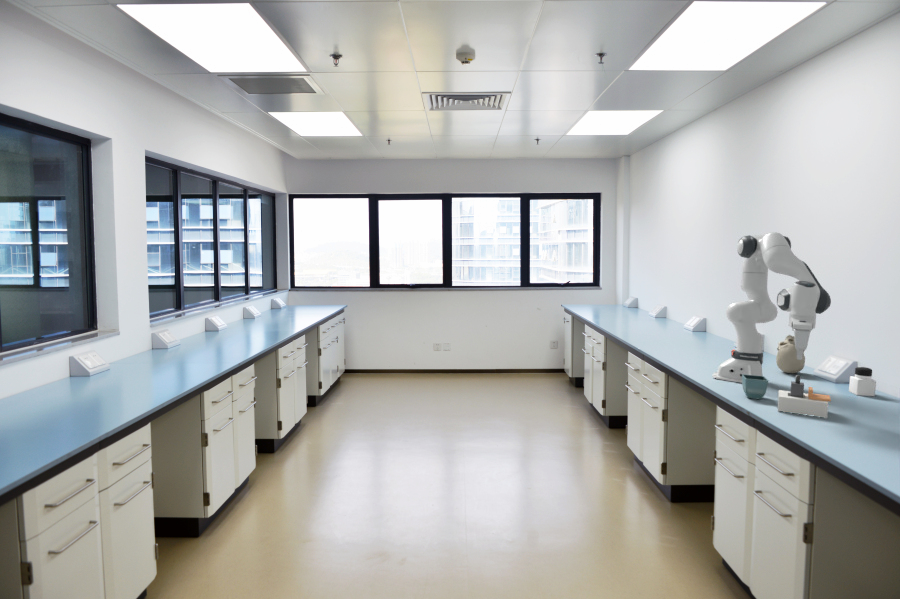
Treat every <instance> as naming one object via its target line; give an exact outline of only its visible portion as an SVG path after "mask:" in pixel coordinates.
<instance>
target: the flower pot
mask: <svg viewBox="0 0 900 599" xmlns="http://www.w3.org/2000/svg"><path fill="white" fill-rule="evenodd" d="M741 384H742V389H743V393H744V394H745V396H746V397H747V398H748V399H754V398H755V399H757V400H762V399H763V398H764V397H765V395H766V393H767V389H768V385H769V379H768V378H766V377H765V376H764V375H763V376H755V375H742V383H741ZM755 399H754V400H755Z"/></svg>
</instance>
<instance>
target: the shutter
mask: <svg viewBox="0 0 900 599" xmlns="http://www.w3.org/2000/svg"><path fill="white" fill-rule="evenodd" d="M807 390H808V392H807V394H808V397H809V399H814V400H822V401H828V403H829V402H832V400H831V396H830V394H829V395H827V394H820V393H814V389H813V387H812V386H808V389H807Z"/></svg>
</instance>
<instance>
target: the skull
mask: <svg viewBox="0 0 900 599" xmlns="http://www.w3.org/2000/svg"><path fill="white" fill-rule="evenodd" d="M794 339H795V338H794V335H790V334H788V335H786V336H785V340H784V341H779V342H778V347H777V348H776V350H777V354H776V358H775V359H776V366H777V368H778V369H779V370H780V371H782V372H784V373H786V374H787V373H788V374H796V373H799V372H801V371H803V369H804V368H805V362H806V356H805V353H804V352H805V351H806V350H804V351H803V356H802V360H799V359H797V355H796V351H797V349H796V348H795V340H794Z"/></svg>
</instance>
